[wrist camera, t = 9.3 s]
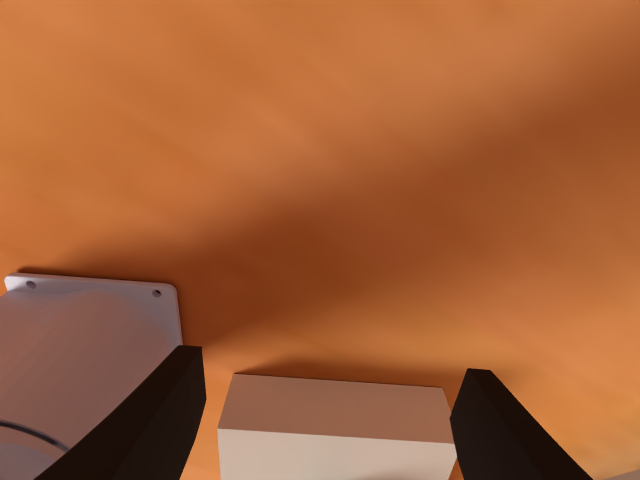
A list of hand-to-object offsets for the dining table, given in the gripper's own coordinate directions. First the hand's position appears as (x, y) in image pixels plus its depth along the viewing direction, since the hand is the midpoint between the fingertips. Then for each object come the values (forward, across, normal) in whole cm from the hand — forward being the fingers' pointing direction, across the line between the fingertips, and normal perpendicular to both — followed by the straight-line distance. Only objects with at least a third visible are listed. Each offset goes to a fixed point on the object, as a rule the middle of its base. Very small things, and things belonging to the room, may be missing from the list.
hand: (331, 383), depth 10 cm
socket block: (+10, -2, +18) cm, 21 cm away
